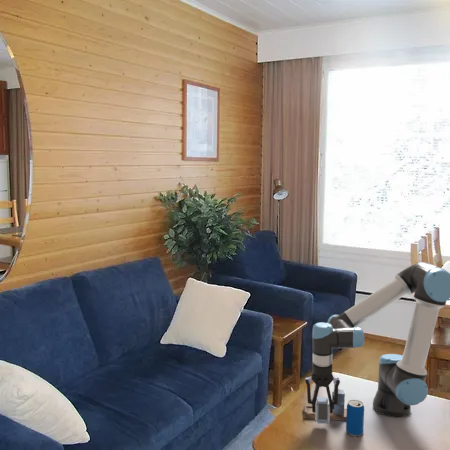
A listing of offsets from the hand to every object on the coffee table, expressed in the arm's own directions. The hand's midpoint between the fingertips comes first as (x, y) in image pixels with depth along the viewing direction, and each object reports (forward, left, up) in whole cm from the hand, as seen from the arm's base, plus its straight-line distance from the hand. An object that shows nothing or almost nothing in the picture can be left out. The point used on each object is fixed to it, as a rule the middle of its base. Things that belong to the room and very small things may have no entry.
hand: (322, 419), depth 200 cm
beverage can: (-12, +3, -3) cm, 13 cm away
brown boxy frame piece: (-2, -10, -3) cm, 11 cm away
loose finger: (0, 0, 0) cm, 0 cm away
